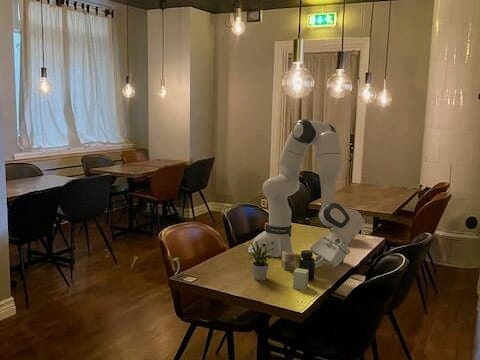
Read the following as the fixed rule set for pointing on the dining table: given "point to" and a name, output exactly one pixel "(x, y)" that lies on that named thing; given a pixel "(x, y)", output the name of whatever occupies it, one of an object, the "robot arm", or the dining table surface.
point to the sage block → (300, 279)
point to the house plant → (260, 262)
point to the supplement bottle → (307, 263)
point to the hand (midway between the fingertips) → (314, 266)
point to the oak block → (288, 260)
